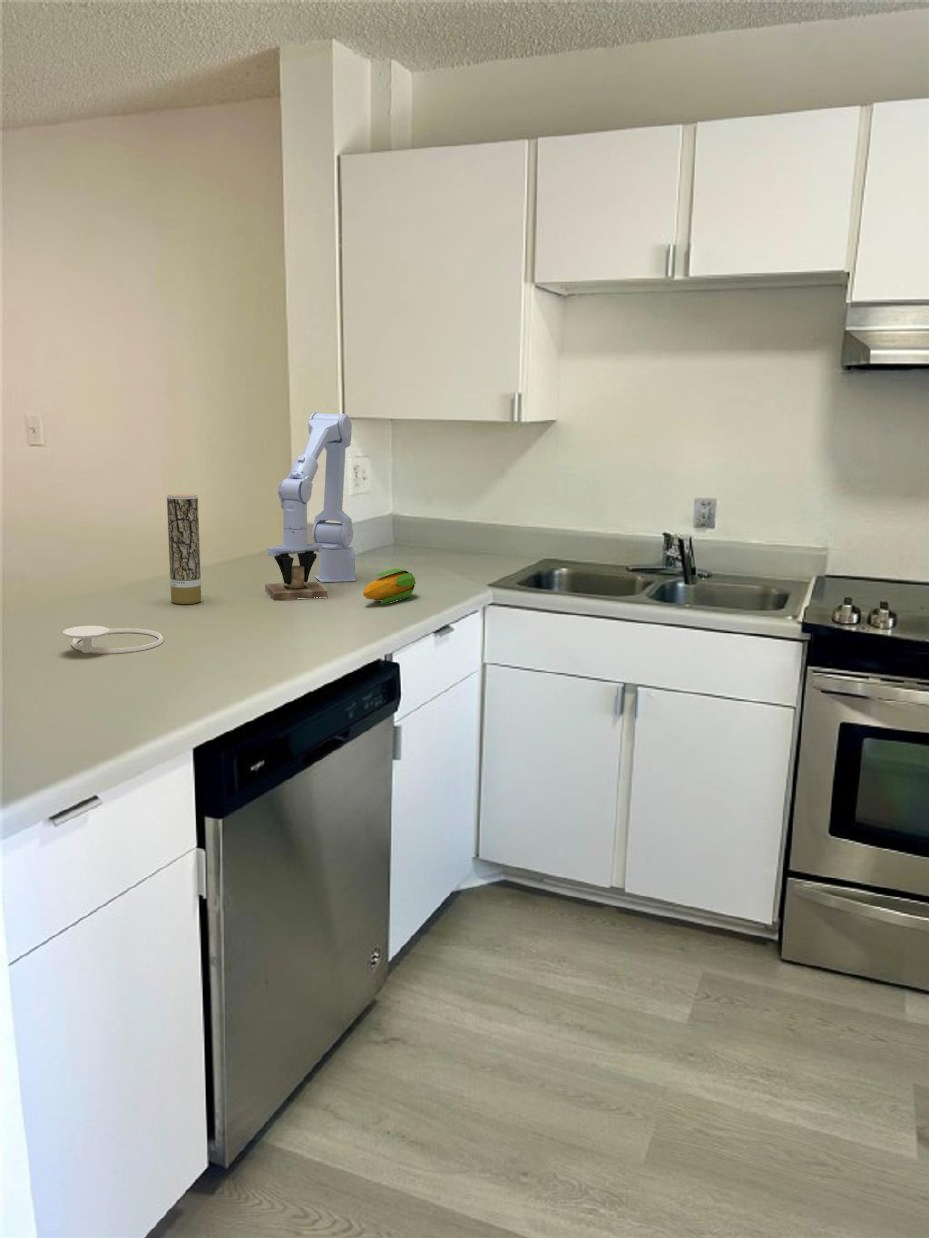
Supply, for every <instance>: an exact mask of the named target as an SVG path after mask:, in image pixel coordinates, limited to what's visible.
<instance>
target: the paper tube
mask: <svg viewBox="0 0 929 1238" xmlns="http://www.w3.org/2000/svg"><path fill="white" fill-rule="evenodd" d="M166 496H167V497H166V504H167V505H166V509H167V511H166V513H167V534H168V555H169V556H168V560H169V579H170V581H169V583H170V601H171V602H172V603H173V604H175V605H194V604H198V603H200V602H201V601H202V588H201V587H202V583H201V580H202V579H201V554H200V553H201V552H200V551H201V549H200V547H201V546H200V523H199V520H200V519H199V516H200V515H199V497H198V494H194V493H193V494H191V493H172V494H167V495H166Z"/></svg>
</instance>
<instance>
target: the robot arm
mask: <svg viewBox="0 0 929 1238" xmlns="http://www.w3.org/2000/svg"><path fill="white" fill-rule="evenodd" d="M307 425H308V426H307V427H308V434H309V436H308V439H307V442H306V446H305V448H304V451H303V453H302V454H300V455H298V456H297V457H296V458H295V461H294V463H293V465H292V467H291V470H290V472H289V474H288V476H287V477H285V478H284V479H283V480H281V481H280V483H279V486H278V490H277V493H278V498H279V500H280V507H281V509H282V513H283V514H282V515H283V518H282V519H283V523H282V524H283V526H282V527H283V545H277V546H276V545H275V546H271V547H267V556H269V557H272V558H274V560H275V562H276V563H277V565H278V567H279V570H280V573H281V576H282V581H283V583H285V584H291V571H292V566H293V564H294V560H295V559H294V557H291V555H294V554H296V555H297V557H298V558H297V559H298V563H299V566H304V582H309V581H308V580H309V578H310V573H311V569H312V567H313V566H314V564H315V563H314V562H315V561H316V559H317V556H318V567H319V568H318V574H317V575H315V576H314V578H315V577H316V580H318V581H319V582H320V583H342V582H356V581H357V580H356V553H355V550H354V547H352V546H350V545H351V544H352V542H353V539H354V530H353V520H352V518H351V517H350V516H349V515H347V513H345V511H344V510H343V506H344V505H343V502H344V501H343V500H344V483H345V468H346V465H345V464H346V449H347V448H349V447H350V446H351V441H352V431H353V427H352V426H353V424H352V421H351V418H350V417H349V415H348V414H347V413H324V412H323V413H322V412H313V413H311V415H310V416H309V419H308V424H307ZM323 450H325V451H326V455H325V456H326V457H325V472H324V473H325V476H324V495H323V509H322V511H320V512H319V513H318V514H316V515H315V516H314V522H313V526H312V530H311V538H312V541H313V543H308V502H309V501H310V500H311V497H312V491H313V490H312V489H313V487H314V486H313V481H314V478H315V477H316V476H315V475H316V474H317V472H318V469H319V464H318V459H319V457H320V455H321V454H322V452H323ZM327 521H331V522H327ZM332 521H334V522H332ZM316 552H317V553H318V555H317V553H316Z"/></svg>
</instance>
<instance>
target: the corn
mask: <svg viewBox="0 0 929 1238" xmlns="http://www.w3.org/2000/svg"><path fill="white" fill-rule="evenodd" d="M375 576H376V577H379V578H376V579H375V580H373V581H371V582H369V583H368V584H367V585H366V586H365V588H364V590H363V592H362V596H363V597H365V599H367V600H374V601H375V600H383V601H380V604H383V605H386V604H385V603H389V604H391V603H390V602H393V601H396V600H400V599H403V600H404V598H405V599H408V598H410V597H411V595H412V594H413V591H414V590H415V586H416V578H415V575H414V574H413V573H412V572H409V571H407V570H404V569H401V568H393V569H390V570H386V571H383V572H380V573H378V574H376V575H375ZM407 597H408V598H407ZM400 601H401V600H400ZM393 603H394V602H393Z"/></svg>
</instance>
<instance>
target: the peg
mask: <svg viewBox="0 0 929 1238" xmlns="http://www.w3.org/2000/svg"><path fill="white" fill-rule="evenodd" d="M288 588H289V590H299V589H303V588H304V566H300V565H292V571H291V584H288Z"/></svg>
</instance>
